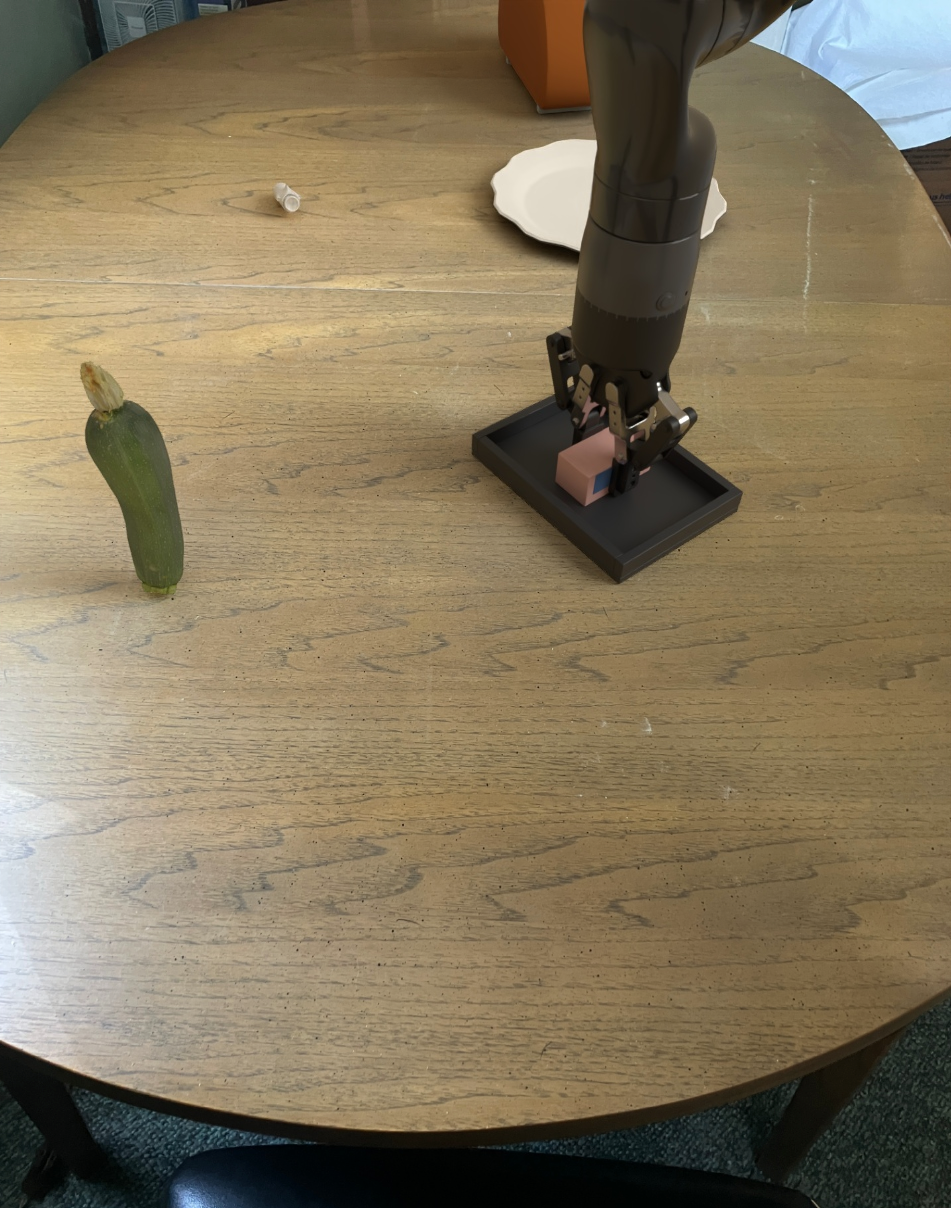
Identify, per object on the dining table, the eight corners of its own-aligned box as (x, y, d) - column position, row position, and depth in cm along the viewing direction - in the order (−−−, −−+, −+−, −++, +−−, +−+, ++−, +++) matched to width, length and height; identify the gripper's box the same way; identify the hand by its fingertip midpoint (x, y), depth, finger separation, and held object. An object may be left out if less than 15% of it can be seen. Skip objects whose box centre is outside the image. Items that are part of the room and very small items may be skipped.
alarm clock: (611, 121, 117) (631, -36, 104) (541, 126, 116) (552, -31, 103) (557, 47, 132) (569, -98, 119) (495, 52, 130) (499, -95, 118)
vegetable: (166, 557, 69) (86, 320, 54) (218, 574, 68) (151, 338, 53) (131, 600, 67) (36, 363, 51) (184, 618, 66) (104, 383, 50)
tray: (737, 511, 74) (743, 491, 72) (619, 584, 69) (623, 565, 67) (586, 396, 82) (588, 376, 81) (471, 454, 77) (471, 434, 76)
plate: (584, 296, 92) (587, 279, 91) (447, 188, 105) (447, 171, 104) (769, 227, 101) (774, 210, 100) (622, 136, 115) (624, 120, 113)
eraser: (650, 470, 76) (656, 441, 73) (584, 507, 73) (589, 478, 70) (619, 446, 77) (624, 417, 75) (554, 481, 75) (557, 452, 72)
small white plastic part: (309, 195, 104) (305, 166, 102) (300, 222, 100) (296, 194, 98) (276, 193, 104) (272, 165, 102) (266, 221, 100) (262, 193, 98)
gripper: (755, 311, 60) (700, 506, 73) (603, 218, 67) (578, 412, 80) (671, 353, 57) (629, 549, 70) (521, 251, 64) (509, 446, 77)
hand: (602, 475), depth 75 cm, fingers closed on eraser, 3 cm apart
